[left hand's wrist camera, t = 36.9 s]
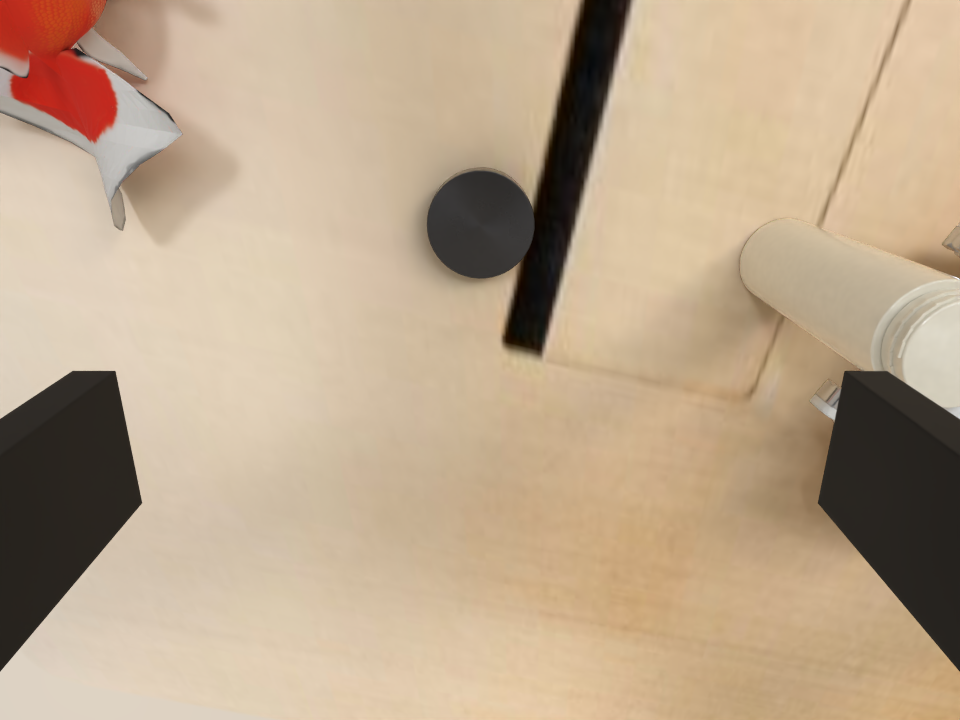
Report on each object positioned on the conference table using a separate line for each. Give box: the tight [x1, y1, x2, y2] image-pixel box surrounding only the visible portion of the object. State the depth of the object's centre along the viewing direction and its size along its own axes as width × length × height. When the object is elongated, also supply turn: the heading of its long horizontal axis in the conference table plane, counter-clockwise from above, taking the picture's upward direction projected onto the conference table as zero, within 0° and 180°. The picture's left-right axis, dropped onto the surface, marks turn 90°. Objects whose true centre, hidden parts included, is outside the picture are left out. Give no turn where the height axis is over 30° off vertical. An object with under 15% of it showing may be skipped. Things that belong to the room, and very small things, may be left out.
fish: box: [0, 0, 182, 231], centre depth 31 cm, size 11×16×10 cm
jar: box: [739, 218, 960, 408], centre depth 31 cm, size 5×5×15 cm
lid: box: [427, 168, 534, 278], centre depth 36 cm, size 6×6×2 cm
